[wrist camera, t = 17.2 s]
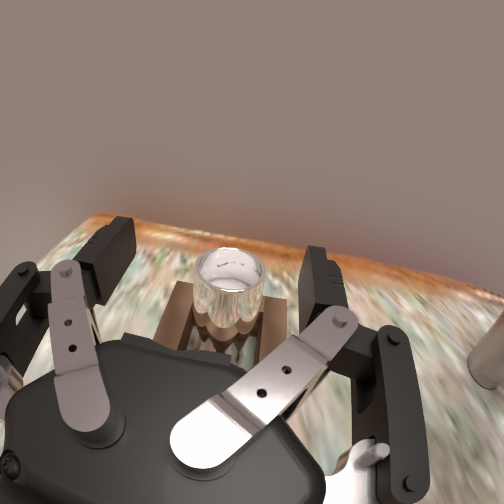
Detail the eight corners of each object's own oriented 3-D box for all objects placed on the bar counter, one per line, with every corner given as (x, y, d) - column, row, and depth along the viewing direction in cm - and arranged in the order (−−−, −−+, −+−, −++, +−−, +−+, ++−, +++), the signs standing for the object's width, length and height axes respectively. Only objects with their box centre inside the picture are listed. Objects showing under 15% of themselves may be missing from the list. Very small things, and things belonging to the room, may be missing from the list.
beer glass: (190, 378, 33) (187, 288, 24) (196, 334, 39) (198, 242, 30) (247, 383, 34) (270, 296, 25) (247, 339, 39) (266, 249, 31)
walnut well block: (279, 323, 42) (286, 299, 40) (275, 417, 30) (285, 399, 27) (178, 306, 42) (177, 280, 39) (147, 393, 30) (140, 372, 27)
